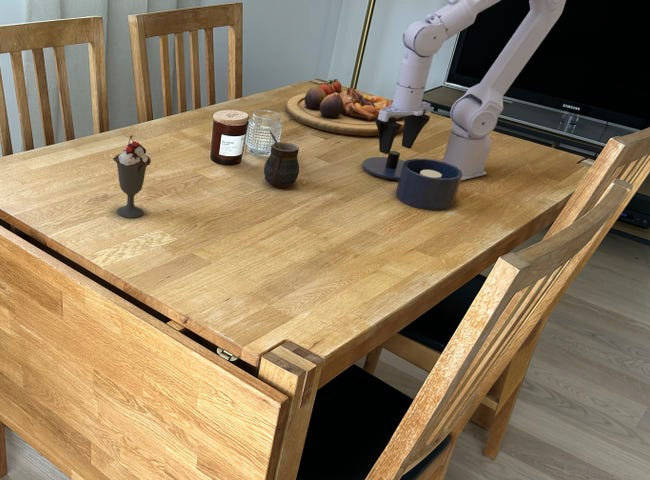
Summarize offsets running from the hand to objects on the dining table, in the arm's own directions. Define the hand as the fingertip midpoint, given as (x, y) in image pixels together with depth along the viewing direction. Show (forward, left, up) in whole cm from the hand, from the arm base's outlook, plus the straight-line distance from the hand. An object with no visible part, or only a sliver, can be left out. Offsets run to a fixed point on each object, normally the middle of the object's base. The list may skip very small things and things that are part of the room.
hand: (395, 149), depth 157 cm
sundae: (+63, -6, -5) cm, 63 cm away
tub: (+5, +14, -4) cm, 16 cm away
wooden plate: (-19, -33, -5) cm, 38 cm away
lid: (0, 0, -4) cm, 4 cm away
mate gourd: (+28, -5, -5) cm, 29 cm away
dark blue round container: (+5, +14, -5) cm, 16 cm away
